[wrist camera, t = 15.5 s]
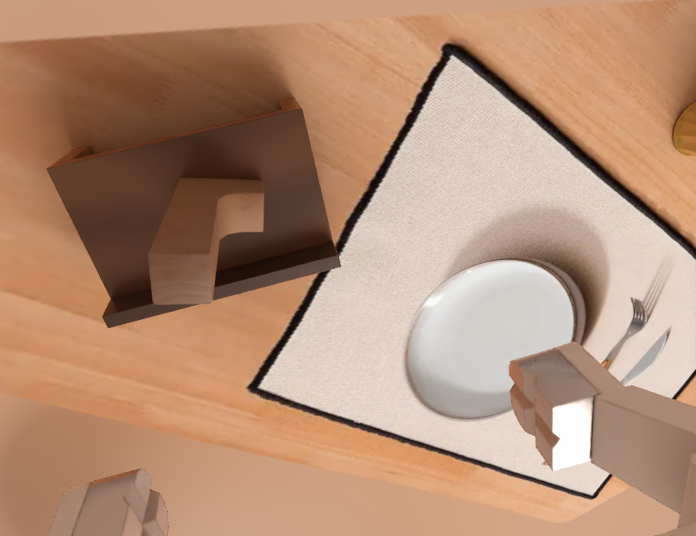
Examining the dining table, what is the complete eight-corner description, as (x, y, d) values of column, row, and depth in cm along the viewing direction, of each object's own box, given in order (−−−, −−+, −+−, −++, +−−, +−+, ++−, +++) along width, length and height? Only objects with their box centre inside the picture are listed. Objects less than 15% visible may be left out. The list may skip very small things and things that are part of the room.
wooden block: (182, 215, 41) (152, 306, 28) (179, 176, 40) (146, 252, 26) (262, 216, 42) (270, 304, 29) (262, 179, 41) (271, 253, 28)
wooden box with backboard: (72, 149, 43) (31, 179, 35) (294, 97, 45) (306, 114, 36) (131, 277, 49) (107, 328, 41) (325, 227, 51) (341, 266, 42)
